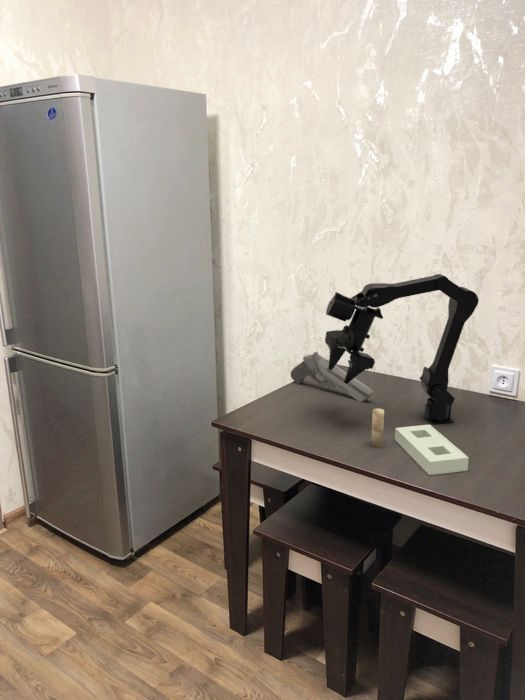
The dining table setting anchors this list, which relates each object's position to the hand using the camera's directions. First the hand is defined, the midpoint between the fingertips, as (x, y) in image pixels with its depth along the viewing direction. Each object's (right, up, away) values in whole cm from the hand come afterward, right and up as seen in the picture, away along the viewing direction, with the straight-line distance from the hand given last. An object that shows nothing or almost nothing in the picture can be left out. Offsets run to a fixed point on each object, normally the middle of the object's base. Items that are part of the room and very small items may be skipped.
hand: (337, 376), depth 162 cm
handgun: (+1, -7, +28) cm, 29 cm away
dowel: (+9, -18, -12) cm, 23 cm away
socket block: (+21, -19, -17) cm, 33 cm away
